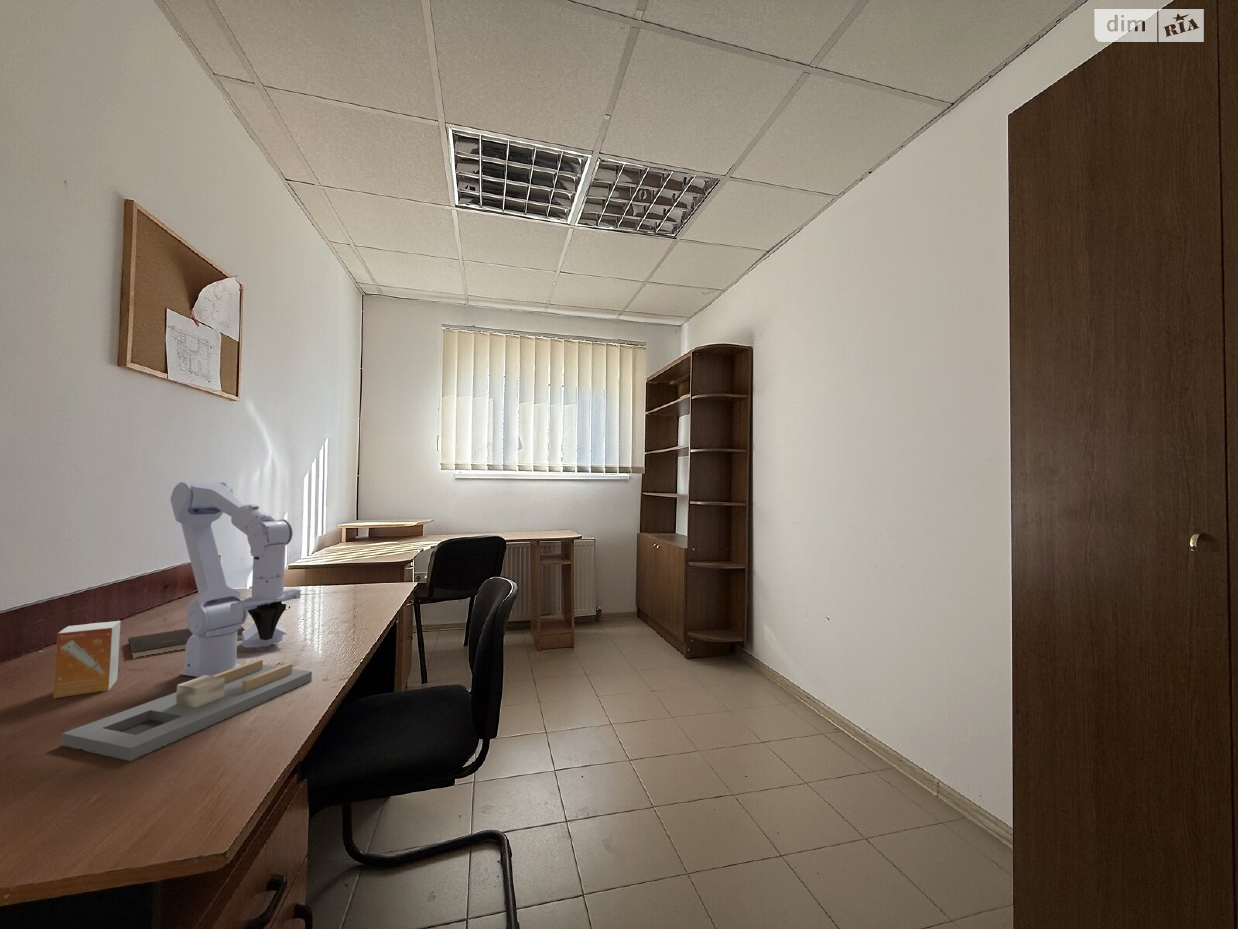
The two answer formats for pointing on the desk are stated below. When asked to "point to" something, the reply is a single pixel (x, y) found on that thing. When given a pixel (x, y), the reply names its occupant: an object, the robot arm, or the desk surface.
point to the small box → (86, 658)
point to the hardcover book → (163, 642)
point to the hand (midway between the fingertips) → (266, 639)
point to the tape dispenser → (252, 638)
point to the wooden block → (200, 691)
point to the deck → (182, 713)
